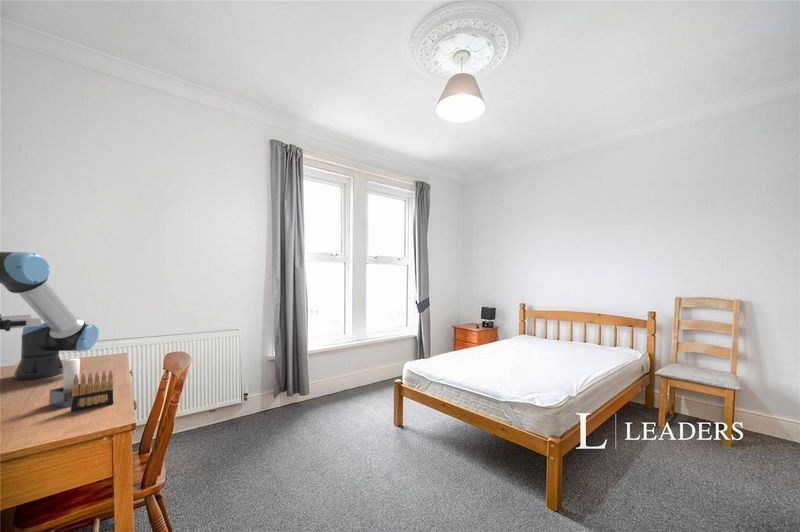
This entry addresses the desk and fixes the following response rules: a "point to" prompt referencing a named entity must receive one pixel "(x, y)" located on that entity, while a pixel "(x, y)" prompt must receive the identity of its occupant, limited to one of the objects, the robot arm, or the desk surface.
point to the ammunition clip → (92, 392)
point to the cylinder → (70, 373)
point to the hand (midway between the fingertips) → (35, 319)
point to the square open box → (61, 397)
